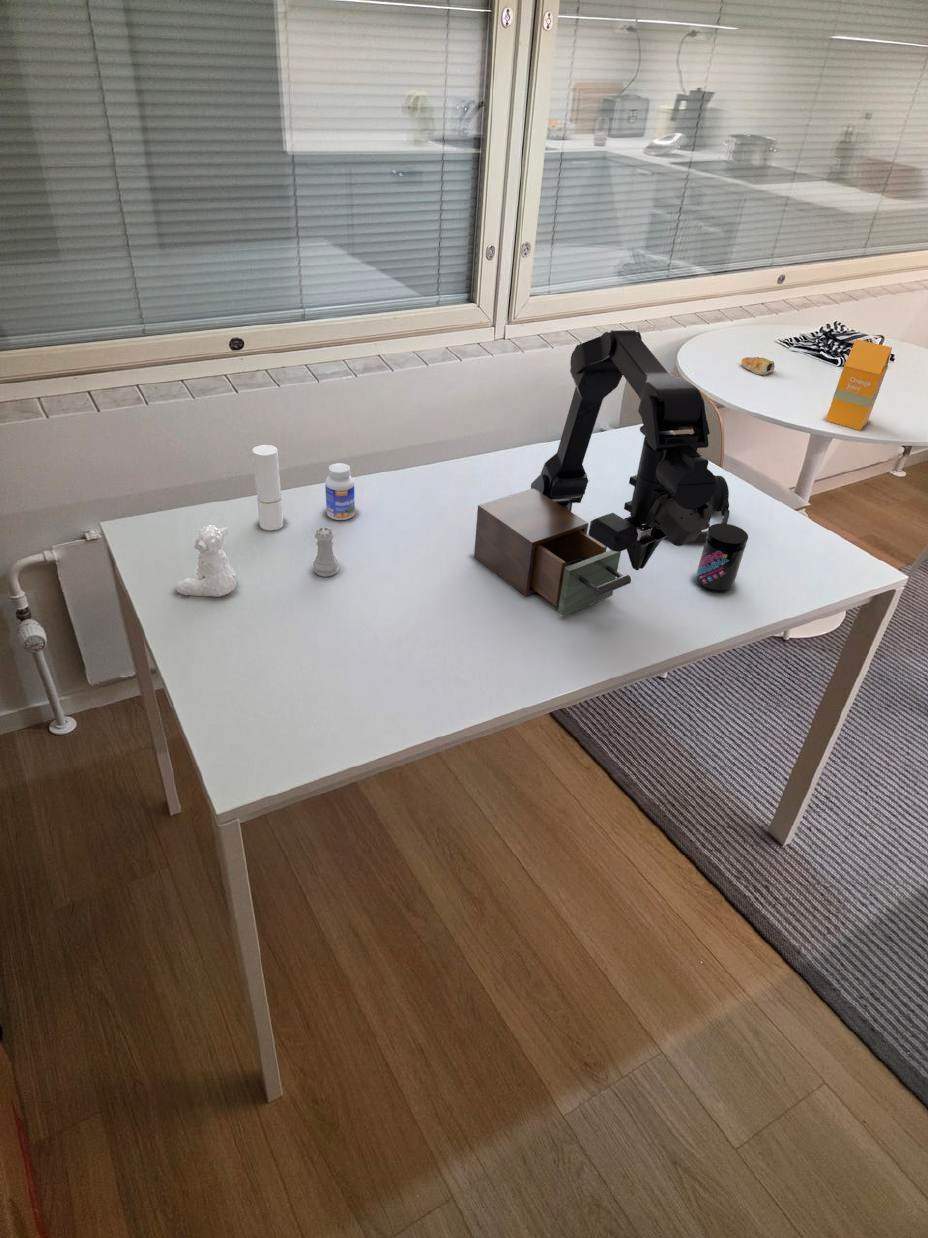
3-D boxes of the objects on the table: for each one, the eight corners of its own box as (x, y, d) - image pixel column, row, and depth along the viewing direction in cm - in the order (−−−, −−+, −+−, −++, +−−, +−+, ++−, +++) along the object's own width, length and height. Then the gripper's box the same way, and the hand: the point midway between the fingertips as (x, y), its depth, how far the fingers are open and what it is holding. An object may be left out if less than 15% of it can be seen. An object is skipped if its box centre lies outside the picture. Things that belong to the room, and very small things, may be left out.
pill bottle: (337, 523, 156) (335, 476, 151) (321, 512, 160) (318, 465, 154) (360, 515, 159) (359, 469, 154) (344, 504, 163) (343, 458, 157)
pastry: (735, 366, 243) (738, 353, 240) (748, 362, 246) (751, 349, 244) (762, 376, 237) (766, 363, 235) (775, 372, 241) (779, 359, 239)
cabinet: (580, 575, 147) (588, 522, 141) (525, 596, 141) (532, 542, 134) (527, 538, 156) (533, 487, 150) (473, 557, 150) (477, 505, 144)
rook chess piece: (343, 567, 145) (342, 527, 140) (332, 580, 141) (330, 539, 136) (320, 561, 146) (318, 521, 141) (308, 574, 142) (305, 533, 137)
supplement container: (691, 571, 150) (705, 521, 144) (729, 575, 150) (744, 525, 144) (697, 593, 145) (711, 541, 139) (736, 596, 145) (752, 545, 138)
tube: (278, 531, 153) (271, 456, 144) (256, 528, 153) (248, 453, 145) (286, 520, 156) (281, 446, 147) (265, 517, 157) (258, 443, 148)
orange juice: (833, 411, 218) (859, 335, 206) (868, 421, 214) (896, 343, 202) (825, 420, 213) (851, 342, 201) (860, 430, 209) (888, 351, 197)
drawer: (633, 610, 138) (643, 565, 133) (583, 632, 132) (591, 586, 127) (559, 558, 149) (565, 515, 144) (510, 577, 144) (515, 533, 138)
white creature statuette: (214, 566, 142) (205, 504, 135) (254, 581, 139) (247, 519, 132) (174, 593, 135) (162, 529, 128) (215, 609, 133) (206, 545, 125)
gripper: (654, 515, 107) (632, 614, 116) (746, 482, 116) (719, 575, 125) (594, 481, 114) (578, 576, 123) (685, 452, 123) (664, 542, 132)
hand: (637, 568), depth 126 cm, fingers closed
